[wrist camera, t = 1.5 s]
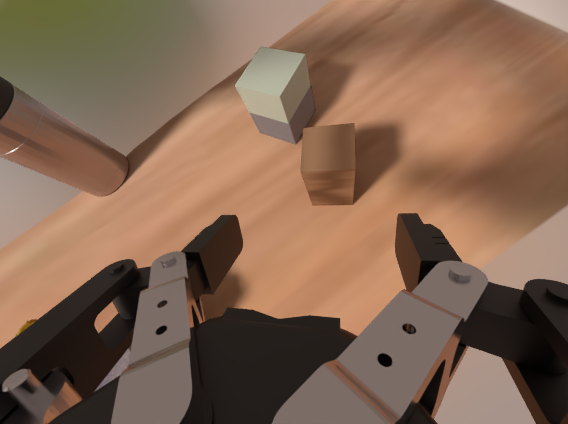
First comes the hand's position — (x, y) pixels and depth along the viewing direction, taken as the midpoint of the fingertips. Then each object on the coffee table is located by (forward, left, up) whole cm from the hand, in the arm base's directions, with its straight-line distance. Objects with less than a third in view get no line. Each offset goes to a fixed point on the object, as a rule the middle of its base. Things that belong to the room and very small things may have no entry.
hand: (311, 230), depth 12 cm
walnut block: (-5, +11, -20) cm, 23 cm away
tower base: (-17, +19, -20) cm, 32 cm away
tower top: (-17, +19, -15) cm, 30 cm away
